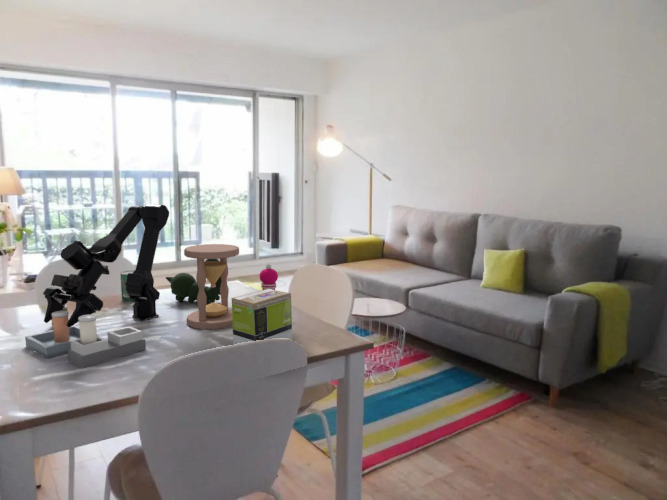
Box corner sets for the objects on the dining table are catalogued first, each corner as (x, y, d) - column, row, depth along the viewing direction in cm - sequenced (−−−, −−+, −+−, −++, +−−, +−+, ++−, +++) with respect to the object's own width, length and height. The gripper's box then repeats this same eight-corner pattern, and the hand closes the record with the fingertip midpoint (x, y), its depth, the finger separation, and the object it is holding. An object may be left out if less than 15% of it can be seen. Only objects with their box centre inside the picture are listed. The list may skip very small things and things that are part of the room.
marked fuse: (72, 340, 148) (69, 310, 147) (68, 344, 144) (66, 314, 143) (56, 341, 147) (53, 311, 146) (52, 346, 143) (49, 315, 142)
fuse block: (132, 343, 148) (131, 325, 147) (145, 349, 144) (144, 330, 143) (68, 361, 134) (67, 341, 134) (81, 368, 130) (79, 347, 129)
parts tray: (76, 334, 156) (75, 325, 155) (98, 344, 147) (97, 334, 147) (26, 346, 145) (25, 336, 144) (47, 358, 136) (46, 347, 136)
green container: (122, 298, 199) (121, 270, 198) (144, 297, 202) (142, 269, 200) (120, 303, 192) (119, 274, 190) (143, 302, 194) (141, 273, 192)
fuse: (93, 345, 138) (91, 313, 136) (101, 349, 135) (99, 316, 134) (77, 349, 134) (75, 316, 133) (85, 353, 132) (82, 320, 130)
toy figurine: (229, 305, 196) (171, 295, 202) (232, 257, 193) (173, 248, 199) (217, 312, 187) (157, 301, 193) (220, 262, 184) (159, 252, 190)
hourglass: (213, 333, 159) (211, 254, 155) (175, 323, 168) (172, 248, 164) (251, 319, 173) (250, 246, 169) (214, 311, 182) (212, 242, 179)
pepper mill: (284, 322, 170) (284, 263, 167) (267, 327, 165) (267, 266, 161) (270, 318, 175) (270, 261, 172) (253, 322, 169) (252, 263, 166)
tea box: (269, 333, 159) (269, 287, 157) (292, 340, 153) (292, 292, 150) (231, 346, 147) (230, 296, 145) (255, 354, 141) (254, 302, 139)
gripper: (46, 260, 150) (13, 305, 141) (92, 265, 142) (59, 314, 134) (71, 281, 158) (41, 325, 150) (116, 287, 150) (87, 334, 142)
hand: (56, 324), depth 144 cm, fingers open, 9 cm apart
